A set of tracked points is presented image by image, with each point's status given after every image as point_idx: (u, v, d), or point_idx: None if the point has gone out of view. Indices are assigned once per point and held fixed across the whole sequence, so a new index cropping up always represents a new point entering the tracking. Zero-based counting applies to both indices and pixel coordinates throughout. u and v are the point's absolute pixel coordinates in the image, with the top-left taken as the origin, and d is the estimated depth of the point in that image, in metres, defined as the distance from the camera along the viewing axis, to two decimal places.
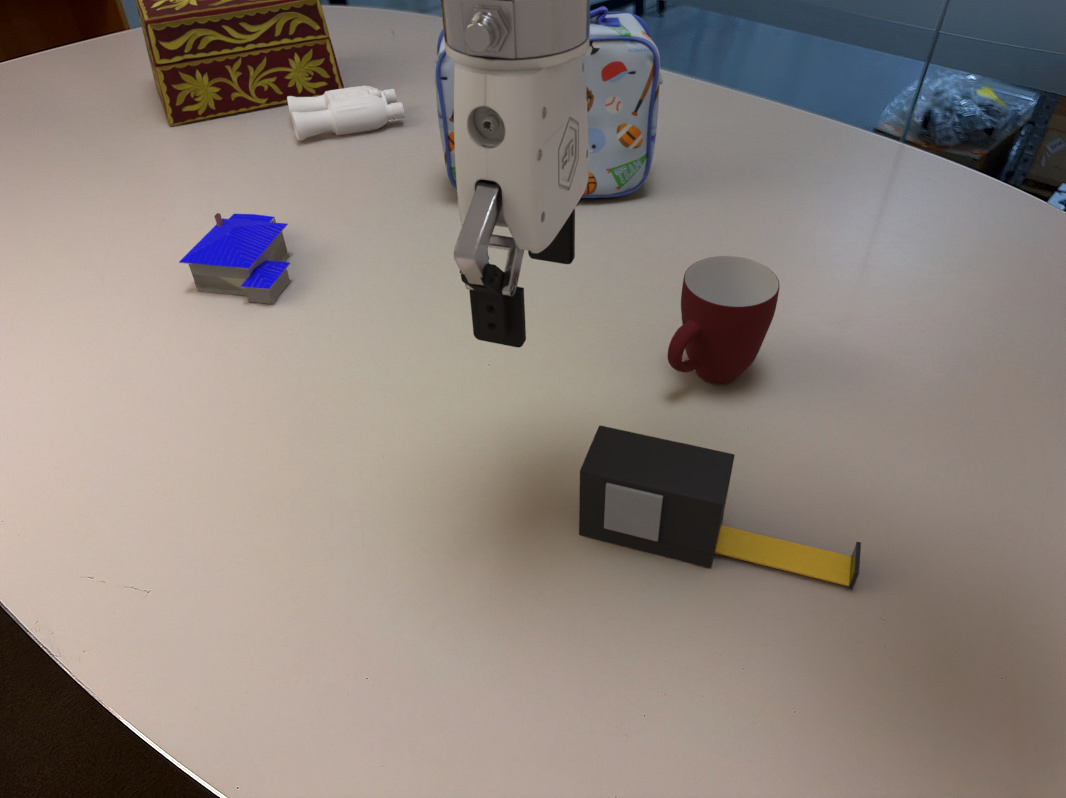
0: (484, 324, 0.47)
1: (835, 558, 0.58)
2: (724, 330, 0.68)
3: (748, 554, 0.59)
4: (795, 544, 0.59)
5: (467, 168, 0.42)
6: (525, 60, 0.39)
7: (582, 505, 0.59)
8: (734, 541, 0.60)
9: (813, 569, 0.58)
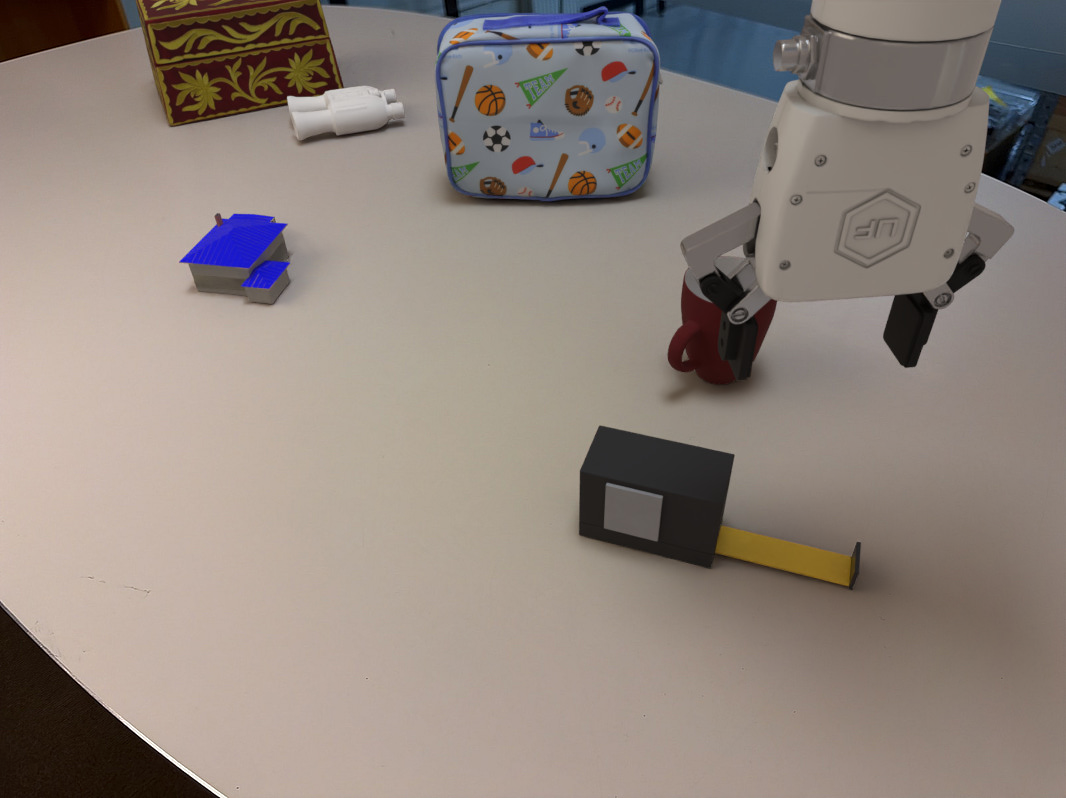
0: (720, 337, 0.47)
1: (835, 558, 0.58)
2: None
3: (748, 554, 0.59)
4: (795, 544, 0.59)
5: (755, 182, 0.41)
6: (825, 99, 0.36)
7: (582, 505, 0.59)
8: (734, 541, 0.60)
9: (813, 569, 0.58)
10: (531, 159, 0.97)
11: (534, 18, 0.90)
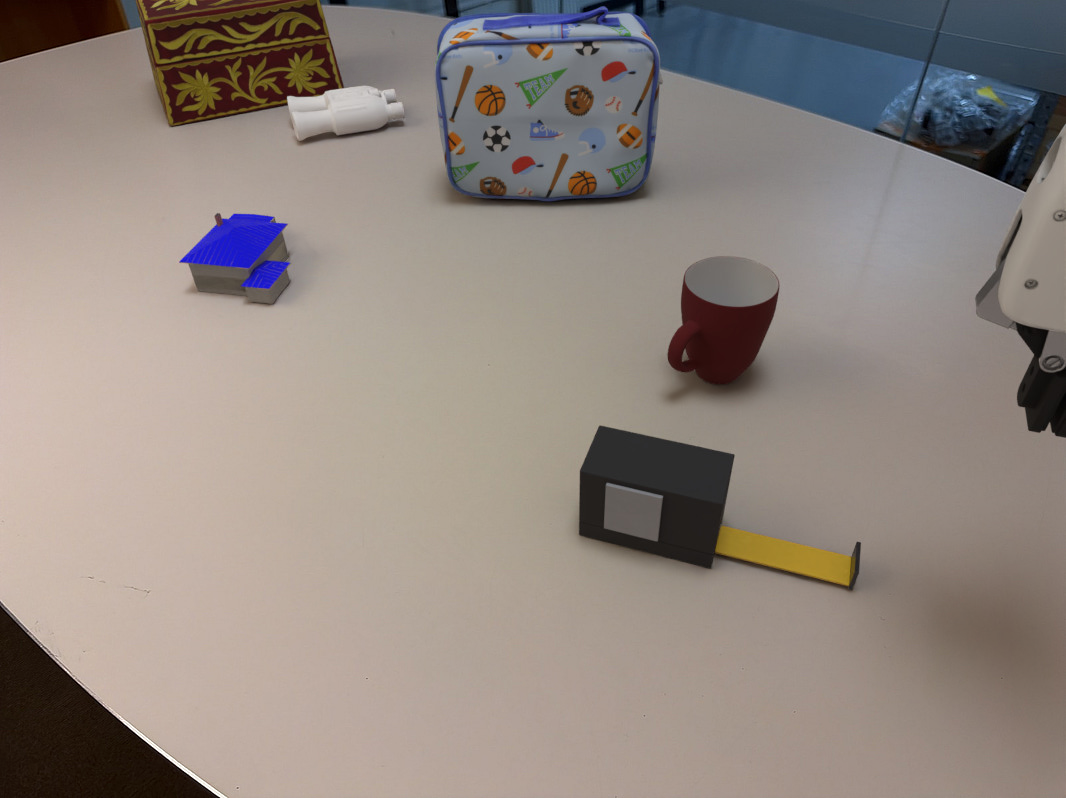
0: (1023, 382, 0.44)
1: (835, 558, 0.58)
2: (724, 330, 0.68)
3: (748, 554, 0.59)
4: (795, 544, 0.59)
5: (1025, 193, 0.39)
6: None
7: (582, 505, 0.59)
8: (734, 541, 0.60)
9: (813, 569, 0.58)
10: (531, 159, 0.97)
11: (534, 18, 0.90)
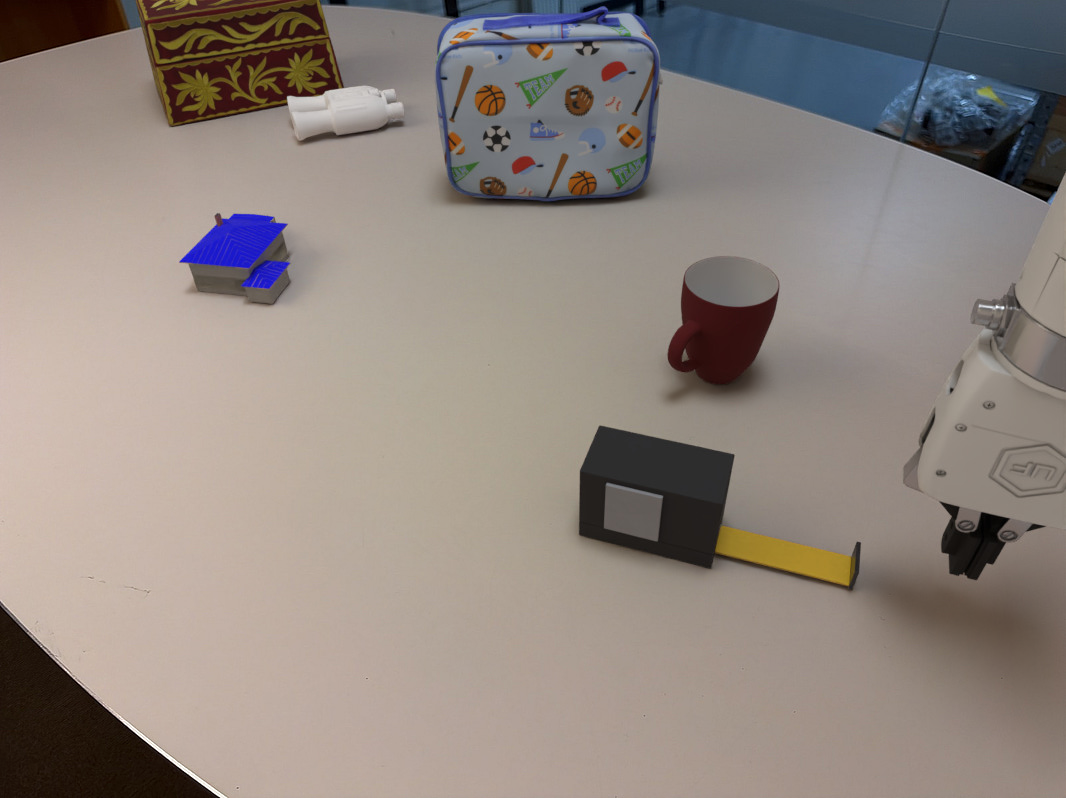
0: (945, 531, 0.53)
1: (835, 558, 0.58)
2: (724, 330, 0.68)
3: (748, 554, 0.59)
4: (795, 544, 0.59)
5: (939, 394, 0.47)
6: (1005, 358, 0.42)
7: (582, 505, 0.59)
8: (734, 541, 0.60)
9: (813, 569, 0.58)
10: (531, 159, 0.97)
11: (534, 18, 0.90)
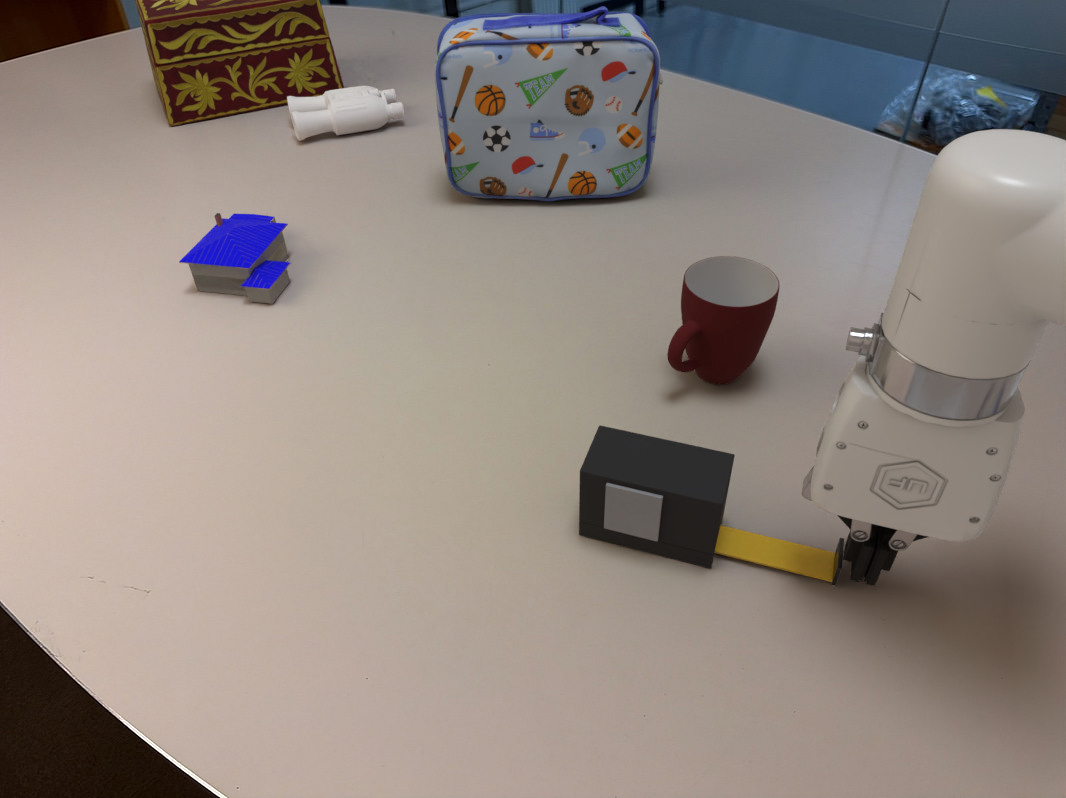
0: (847, 540, 0.56)
1: (818, 554, 0.59)
2: (724, 330, 0.68)
3: (732, 550, 0.59)
4: (779, 540, 0.60)
5: None
6: (874, 382, 0.45)
7: (582, 505, 0.59)
8: (719, 537, 0.60)
9: (797, 565, 0.58)
10: (531, 159, 0.97)
11: (534, 18, 0.90)
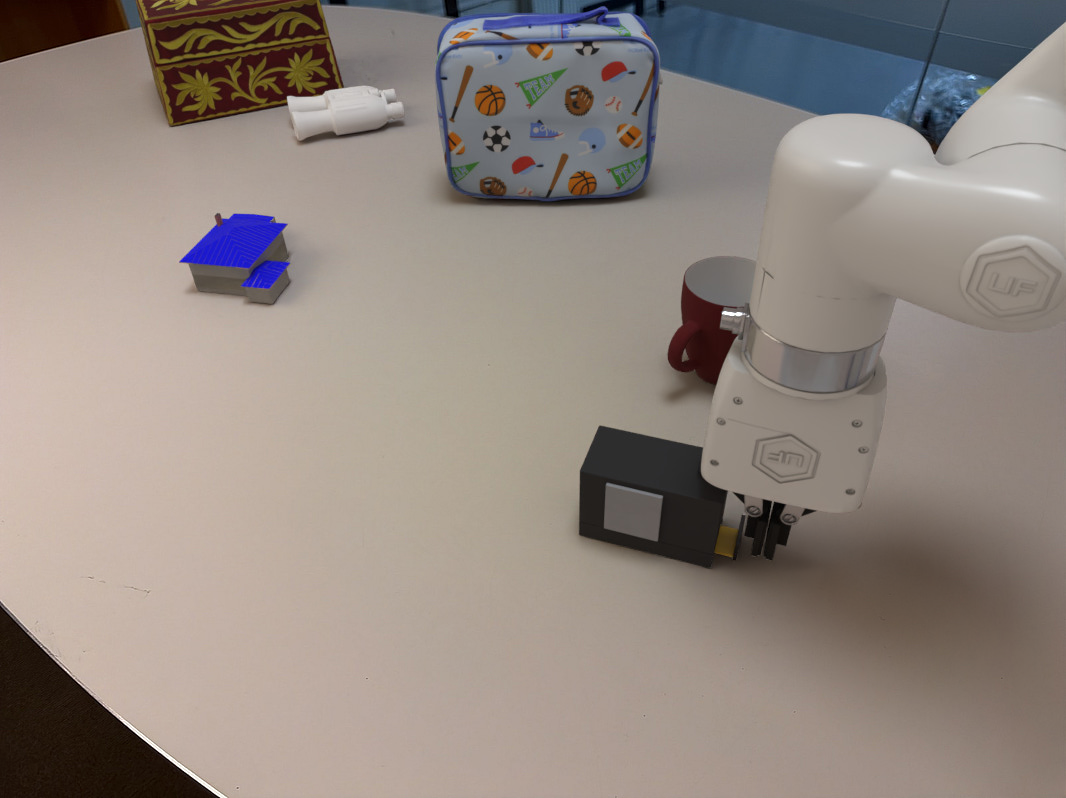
0: None
1: (722, 531, 0.60)
2: (724, 330, 0.68)
3: None
4: None
5: None
6: (746, 359, 0.47)
7: (582, 505, 0.59)
8: None
9: None
10: (531, 159, 0.97)
11: (534, 18, 0.90)
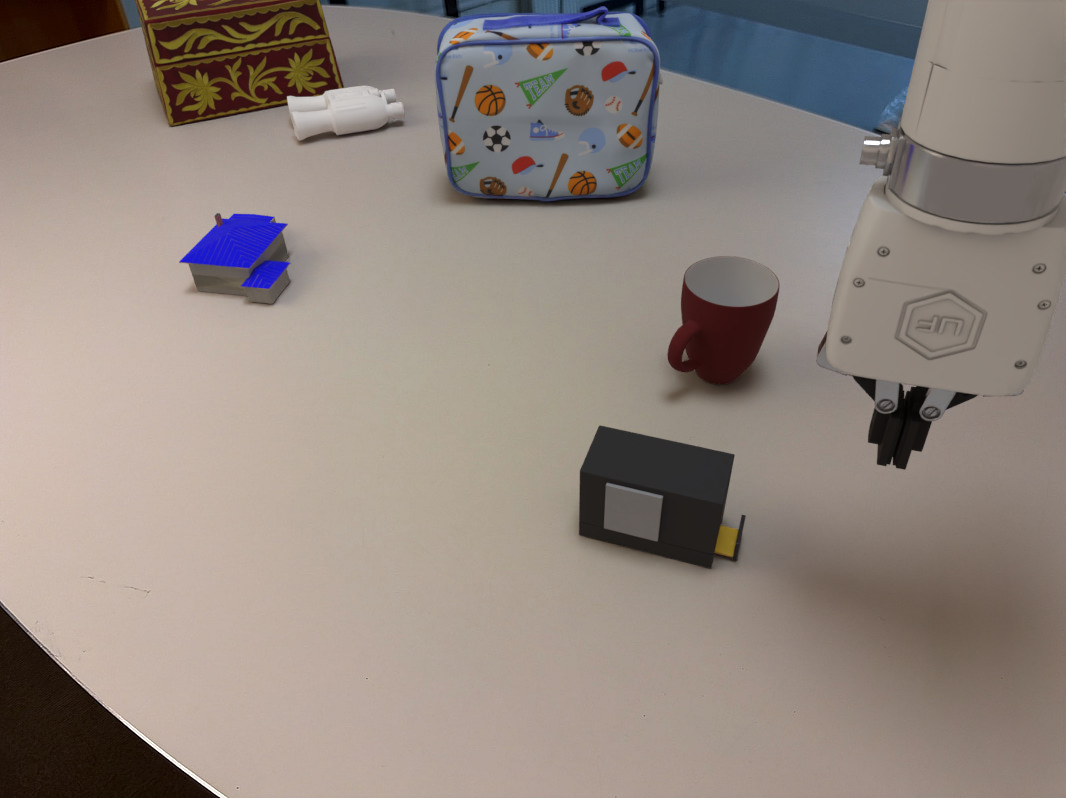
0: (871, 420, 0.49)
1: (722, 531, 0.60)
2: (724, 330, 0.68)
3: None
4: None
5: None
6: (895, 196, 0.38)
7: (582, 505, 0.59)
8: None
9: None
10: (531, 159, 0.97)
11: (534, 18, 0.90)
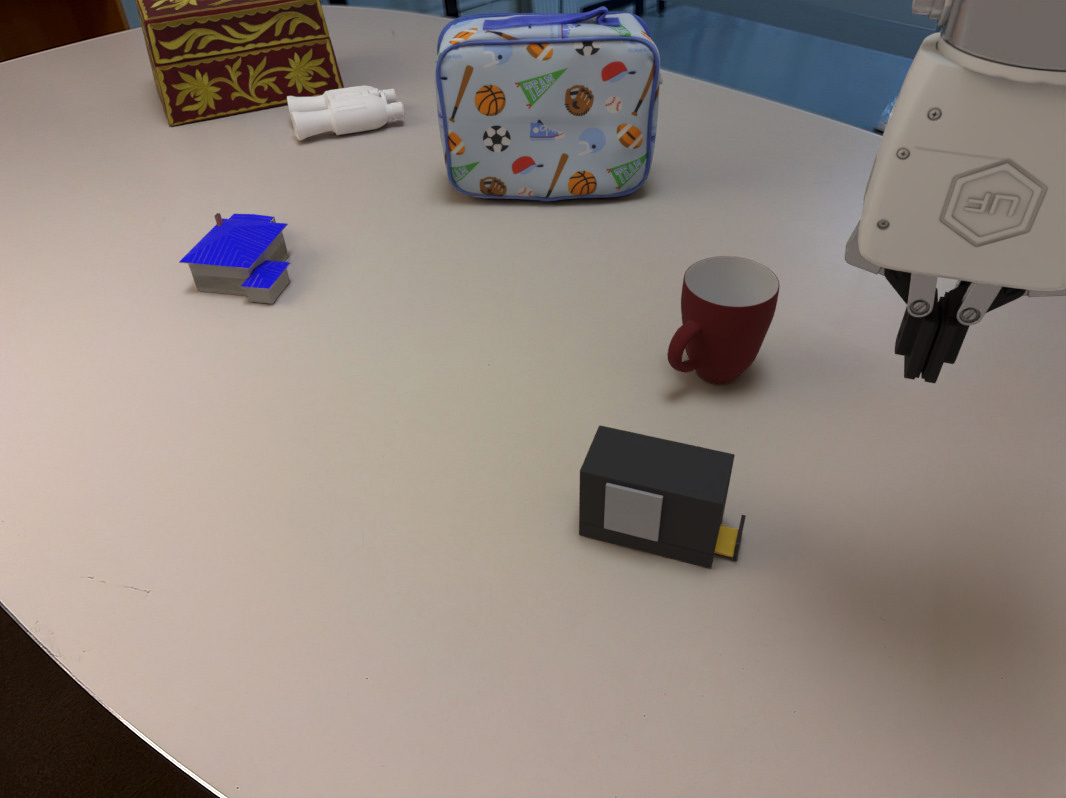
0: (899, 330, 0.45)
1: (722, 531, 0.60)
2: (724, 330, 0.68)
3: None
4: None
5: None
6: (952, 48, 0.34)
7: (582, 505, 0.59)
8: None
9: None
10: (531, 159, 0.97)
11: (534, 18, 0.90)
